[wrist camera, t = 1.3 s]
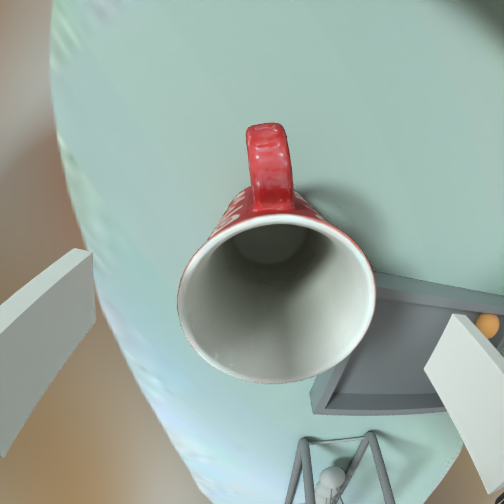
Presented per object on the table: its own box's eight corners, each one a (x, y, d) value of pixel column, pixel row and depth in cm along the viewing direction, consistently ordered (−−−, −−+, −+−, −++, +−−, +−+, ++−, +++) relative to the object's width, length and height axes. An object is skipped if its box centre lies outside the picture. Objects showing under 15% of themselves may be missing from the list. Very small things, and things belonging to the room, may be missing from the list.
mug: (321, 274, 28) (361, 380, 15) (219, 276, 28) (190, 385, 15) (324, 128, 23) (392, 123, 10) (209, 130, 23) (155, 126, 11)
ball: (477, 304, 28) (492, 319, 25) (493, 307, 28) (508, 321, 25) (466, 328, 29) (479, 344, 26) (482, 329, 29) (495, 344, 26)
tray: (357, 268, 27) (368, 284, 24) (506, 296, 28) (521, 309, 25) (309, 393, 33) (312, 414, 30) (451, 394, 34) (460, 409, 31)
